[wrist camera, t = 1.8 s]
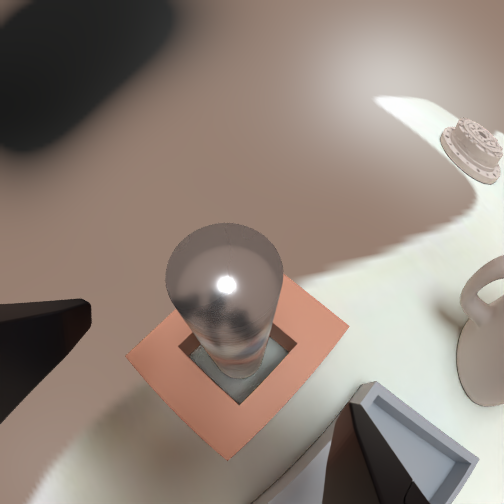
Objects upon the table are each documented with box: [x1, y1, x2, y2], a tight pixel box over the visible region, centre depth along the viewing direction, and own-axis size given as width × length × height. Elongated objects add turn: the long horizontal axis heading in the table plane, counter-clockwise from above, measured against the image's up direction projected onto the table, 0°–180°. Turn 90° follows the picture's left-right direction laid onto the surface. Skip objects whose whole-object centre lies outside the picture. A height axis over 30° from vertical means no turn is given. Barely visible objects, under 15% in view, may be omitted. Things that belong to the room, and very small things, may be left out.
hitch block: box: [125, 274, 349, 461], centre depth 16 cm, size 10×8×3 cm
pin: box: [166, 223, 283, 379], centre depth 13 cm, size 3×3×12 cm
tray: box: [251, 381, 479, 504], centre depth 12 cm, size 11×11×2 cm
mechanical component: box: [441, 117, 503, 184], centre depth 28 cm, size 10×4×10 cm
